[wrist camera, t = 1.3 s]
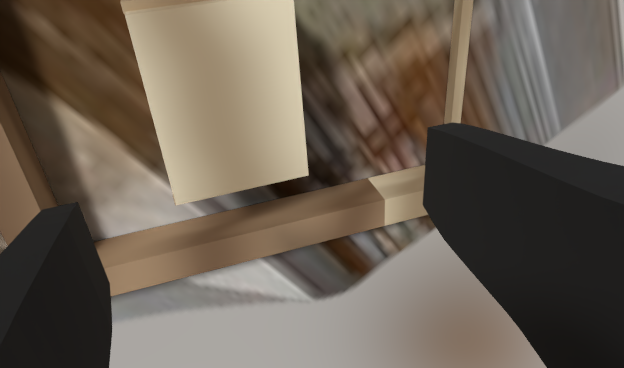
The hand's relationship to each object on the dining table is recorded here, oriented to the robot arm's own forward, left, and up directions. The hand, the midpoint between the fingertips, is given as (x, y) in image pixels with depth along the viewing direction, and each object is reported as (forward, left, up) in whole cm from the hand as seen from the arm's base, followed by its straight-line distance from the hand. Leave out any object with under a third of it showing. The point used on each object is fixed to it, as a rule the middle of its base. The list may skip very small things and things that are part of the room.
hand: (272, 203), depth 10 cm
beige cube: (0, 0, -11) cm, 11 cm away
